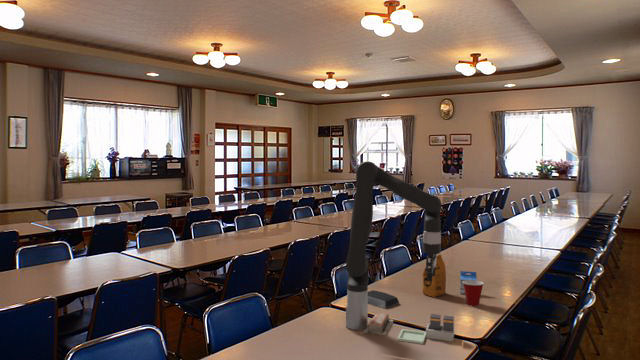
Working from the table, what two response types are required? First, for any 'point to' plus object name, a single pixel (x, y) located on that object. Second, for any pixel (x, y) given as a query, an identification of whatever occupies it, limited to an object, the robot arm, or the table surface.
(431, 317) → the plug
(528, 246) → the table surface
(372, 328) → the packaged product
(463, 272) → the label tape box
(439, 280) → the coffee package
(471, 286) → the plastic cup
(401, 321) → the table surface
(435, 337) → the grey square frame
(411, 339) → the tray
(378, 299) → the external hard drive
